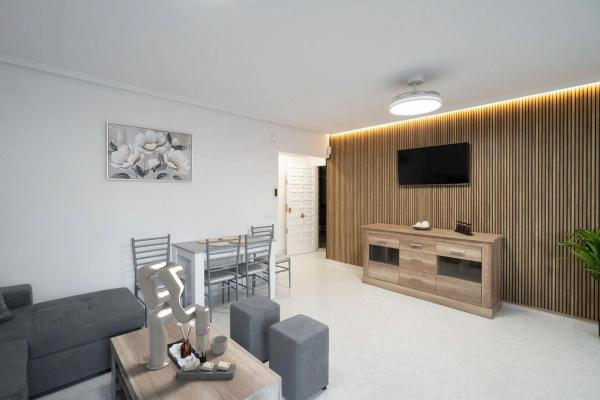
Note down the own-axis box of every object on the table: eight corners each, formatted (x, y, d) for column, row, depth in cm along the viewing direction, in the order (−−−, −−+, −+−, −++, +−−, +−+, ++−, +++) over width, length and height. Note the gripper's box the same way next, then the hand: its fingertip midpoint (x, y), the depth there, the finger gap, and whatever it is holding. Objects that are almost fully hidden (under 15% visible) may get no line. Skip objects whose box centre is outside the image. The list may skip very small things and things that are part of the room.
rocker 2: (200, 368, 156) (201, 365, 156) (203, 364, 161) (203, 361, 161) (211, 370, 157) (212, 367, 157) (213, 366, 161) (214, 363, 161)
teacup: (222, 357, 175) (222, 344, 175) (206, 355, 177) (206, 342, 177) (232, 345, 189) (232, 333, 188) (217, 343, 191) (217, 332, 191)
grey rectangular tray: (173, 379, 154) (173, 372, 154) (179, 370, 162) (179, 364, 162) (233, 378, 155) (233, 371, 155) (236, 369, 163) (236, 362, 163)
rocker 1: (184, 371, 156) (183, 368, 156) (187, 366, 161) (186, 363, 160) (195, 369, 156) (194, 365, 156) (198, 364, 161) (197, 361, 161)
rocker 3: (217, 368, 157) (218, 365, 157) (219, 363, 161) (220, 360, 161) (228, 370, 157) (228, 367, 157) (229, 365, 161) (230, 362, 161)
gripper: (200, 323, 165) (200, 354, 166) (191, 336, 150) (191, 370, 151) (213, 323, 166) (213, 354, 166) (205, 336, 151) (206, 370, 151)
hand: (203, 362), depth 158 cm, fingers closed
